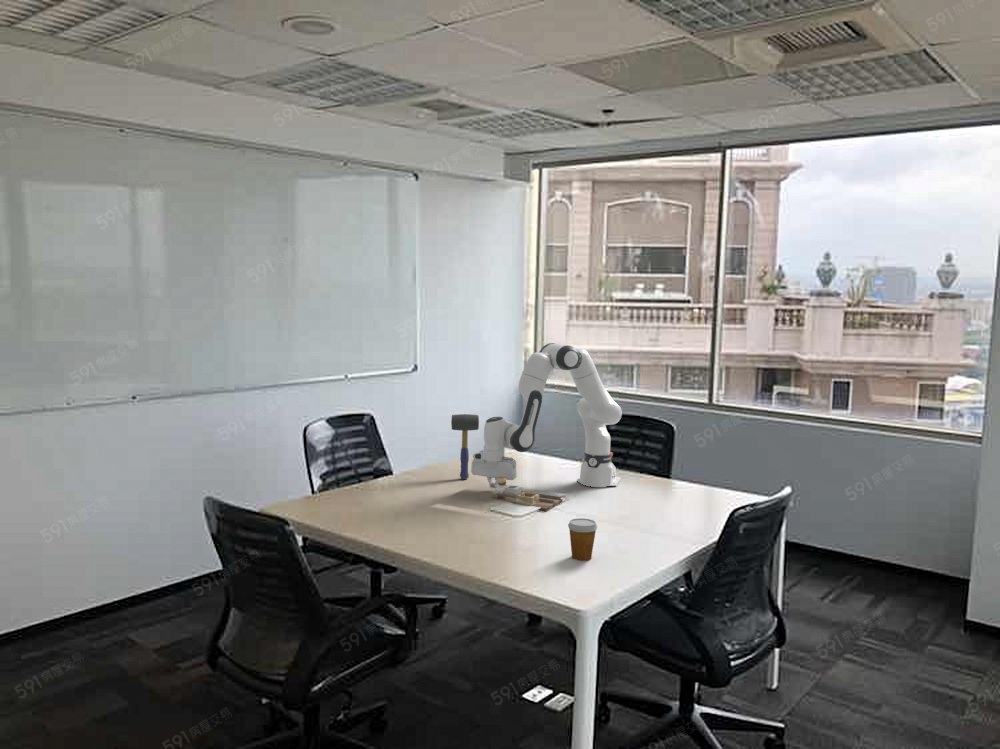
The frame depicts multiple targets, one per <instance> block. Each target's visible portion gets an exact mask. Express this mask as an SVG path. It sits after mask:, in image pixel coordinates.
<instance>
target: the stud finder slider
mask: <svg viewBox="0 0 1000 749" xmlns="http://www.w3.org/2000/svg"><path fill="white" fill-rule="evenodd" d="M521 491H522V486H519V485H512V484H507V483H506V484H505V493H511V494H517V495H518V494H520V493H521Z"/></svg>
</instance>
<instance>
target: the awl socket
mask: <svg viewBox="0 0 1000 749" xmlns="http://www.w3.org/2000/svg"><path fill="white" fill-rule="evenodd" d="M528 492H529V491H527V492H523V493H521V494H519V495H517V496H516V503H519V504H518V505H523V504H526V505H525V506H529V505H534V504H536V503H537V502H539V496H540V494H541V493H540V494H535V493H536V492H534V493H528ZM516 503H515V504H516Z"/></svg>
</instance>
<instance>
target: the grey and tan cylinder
mask: <svg viewBox="0 0 1000 749" xmlns="http://www.w3.org/2000/svg"><path fill="white" fill-rule="evenodd" d="M505 484H506V485H507V480H506V477H497V494H498V499H505Z"/></svg>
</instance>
